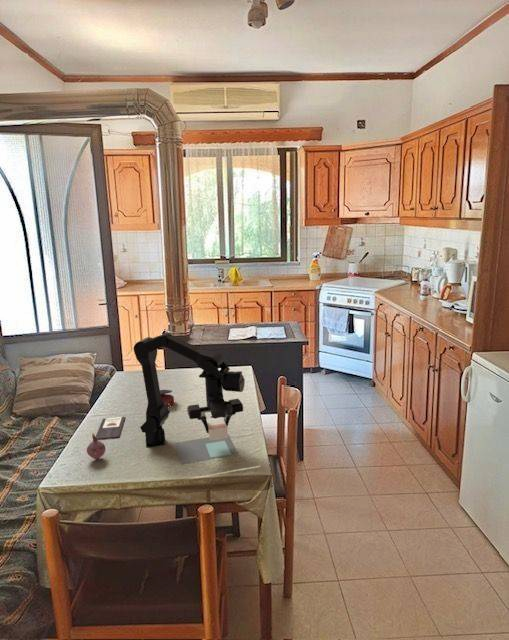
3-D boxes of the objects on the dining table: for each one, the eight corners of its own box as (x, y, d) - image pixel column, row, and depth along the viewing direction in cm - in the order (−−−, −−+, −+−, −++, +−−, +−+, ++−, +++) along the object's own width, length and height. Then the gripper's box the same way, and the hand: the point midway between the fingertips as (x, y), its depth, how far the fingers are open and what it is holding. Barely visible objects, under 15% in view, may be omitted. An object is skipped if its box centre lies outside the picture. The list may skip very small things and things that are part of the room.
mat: (180, 465, 156) (180, 464, 156) (175, 443, 171) (174, 442, 171) (238, 455, 161) (238, 453, 161) (228, 435, 176) (228, 433, 176)
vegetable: (90, 455, 165) (87, 429, 163) (108, 454, 165) (105, 428, 163) (85, 464, 159) (82, 437, 157) (104, 463, 159) (101, 436, 157)
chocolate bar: (94, 438, 176) (102, 418, 194) (94, 441, 176) (103, 420, 194) (119, 436, 177) (125, 416, 195) (119, 438, 178) (125, 418, 195)
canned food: (153, 418, 205) (141, 399, 203) (163, 406, 214) (151, 388, 212) (173, 408, 201) (161, 390, 199) (182, 397, 210) (170, 379, 208)
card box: (205, 429, 167) (205, 418, 166) (222, 426, 169) (221, 416, 168) (210, 440, 159) (209, 429, 158) (227, 437, 160) (227, 426, 159)
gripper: (190, 401, 150) (193, 446, 154) (246, 394, 155) (248, 437, 158) (185, 389, 161) (188, 431, 164) (238, 382, 165) (240, 423, 169)
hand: (216, 431), depth 164 cm, fingers closed on card box, 6 cm apart
